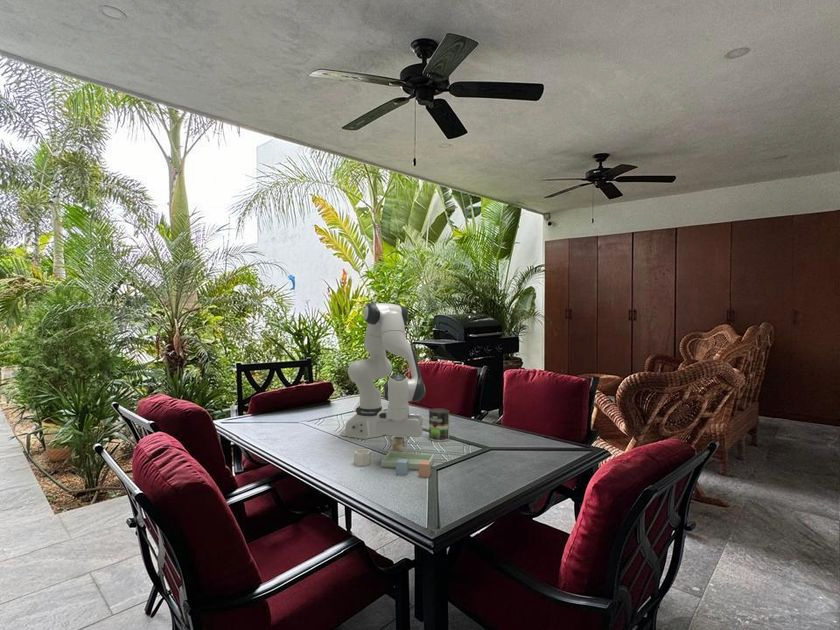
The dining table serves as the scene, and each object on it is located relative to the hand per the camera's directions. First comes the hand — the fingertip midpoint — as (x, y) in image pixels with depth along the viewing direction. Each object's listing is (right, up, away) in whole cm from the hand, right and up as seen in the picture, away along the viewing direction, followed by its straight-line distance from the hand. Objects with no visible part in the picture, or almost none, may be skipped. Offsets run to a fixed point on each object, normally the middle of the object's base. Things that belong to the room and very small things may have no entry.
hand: (398, 446), depth 184 cm
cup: (-15, -7, 0) cm, 17 cm away
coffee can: (+19, -7, +35) cm, 40 cm away
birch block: (0, -2, 0) cm, 2 cm away
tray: (+4, -7, -1) cm, 8 cm away
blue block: (+2, -8, -10) cm, 13 cm away
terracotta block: (+11, -8, -12) cm, 18 cm away
